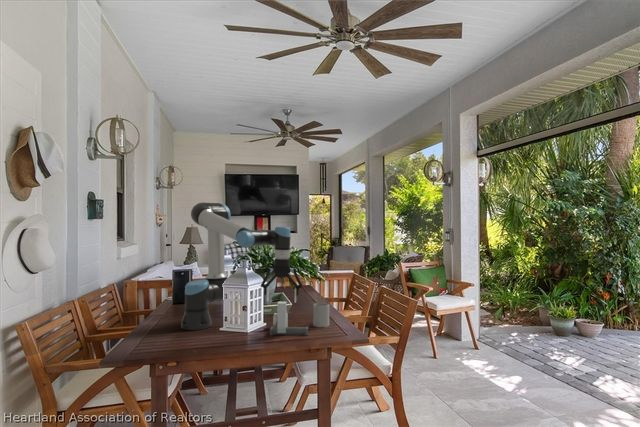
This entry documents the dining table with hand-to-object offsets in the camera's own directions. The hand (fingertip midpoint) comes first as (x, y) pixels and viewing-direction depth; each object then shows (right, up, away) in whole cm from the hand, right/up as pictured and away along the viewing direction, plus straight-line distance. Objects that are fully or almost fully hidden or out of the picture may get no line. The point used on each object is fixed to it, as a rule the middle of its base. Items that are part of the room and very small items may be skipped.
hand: (281, 301), depth 186 cm
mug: (+19, -16, +17) cm, 31 cm away
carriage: (0, -14, 0) cm, 14 cm away
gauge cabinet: (-1, -16, +9) cm, 18 cm away
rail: (+4, -16, 0) cm, 16 cm away
